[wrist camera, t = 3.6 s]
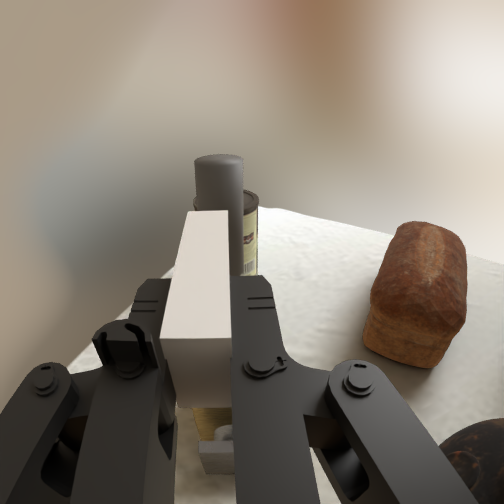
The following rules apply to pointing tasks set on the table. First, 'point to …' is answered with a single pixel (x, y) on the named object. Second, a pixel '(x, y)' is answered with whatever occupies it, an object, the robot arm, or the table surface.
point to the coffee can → (248, 232)
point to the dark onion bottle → (479, 459)
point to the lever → (224, 199)
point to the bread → (418, 295)
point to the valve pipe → (215, 439)
